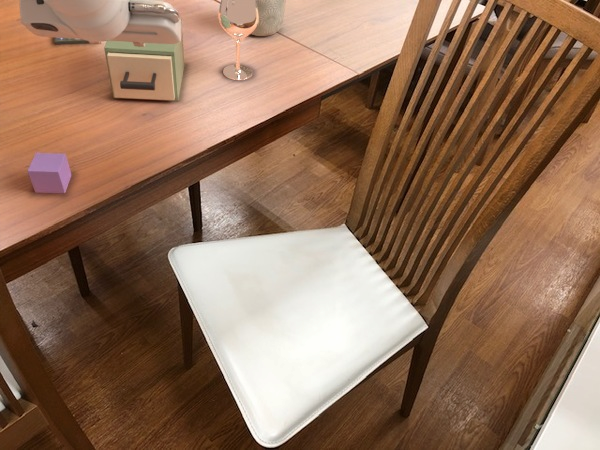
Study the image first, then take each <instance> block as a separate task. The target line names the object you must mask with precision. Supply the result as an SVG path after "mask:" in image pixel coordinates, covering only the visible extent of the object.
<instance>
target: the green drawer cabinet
mask: <svg viewBox="0 0 600 450" xmlns="http://www.w3.org/2000/svg"><path fill="white" fill-rule="evenodd" d="M180 19H181V26H182V27H183V21H182V17H180ZM183 35H184V33H183V32H182V33H181V42H179V43H177V44H157V43H145V47H138V46H134V44H133V42H124V41H105V45H104V47H103V50H104V55H105V60H106V65H107V71H108V76H109V82H110V87H111V92H112V98H113V99H117V98H116V97H115V96H114V91H113V86H112V80H111V75H110V69H109V64H108V59H107V54H108V53H114V52H122V53H139V54H156V55H170V56H171V58H172V70H173V81H174V93H175V99H174V100H166V101H168V102H169V101H171V102H179V99H180V93H181V87H182V82H183V77H184V70H185V64H186V63H185V52H184V51H185V49H184V48H185V47H184V36H183ZM126 99H127V100H129V99H130V100H137V99H136V98H125V100H126ZM145 100H151V101H158V100H157V99H145Z"/></svg>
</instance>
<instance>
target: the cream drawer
mask: <svg viewBox="0 0 600 450" xmlns="http://www.w3.org/2000/svg"><path fill="white" fill-rule="evenodd" d="M107 59H108V64H109V69H110V75H111V80H112V86H113V91H114V96H115V97H116V98H115V99H126V98H136V99H135V100H146V99H157V100H156V101H167V100H174V99H175V93H174V81H173V70H172V58H171V56H170V55H156V54H139V53H122V52H114V53H108V54H107Z"/></svg>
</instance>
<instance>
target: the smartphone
mask: <svg viewBox="0 0 600 450" xmlns="http://www.w3.org/2000/svg"><path fill="white" fill-rule="evenodd" d="M53 38H54V40H53V41H54V42H53V43H54V45H79V44H91V43H90V42H89V41H87V40H84V39H73V38H56V37H53Z"/></svg>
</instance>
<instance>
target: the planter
mask: <svg viewBox="0 0 600 450" xmlns="http://www.w3.org/2000/svg"><path fill="white" fill-rule="evenodd" d="M256 2H257V7H258V13H259V22H258V25H257V27H256V28H255V30H254V31H253V32H252V33H251V34H250V35H251V36H255V37H268V36H272V35H274V34H276V33H277V32H279V31H280V29H281V28H282V26H283V23H284V17H285V11H286V2H287V0H256Z"/></svg>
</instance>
